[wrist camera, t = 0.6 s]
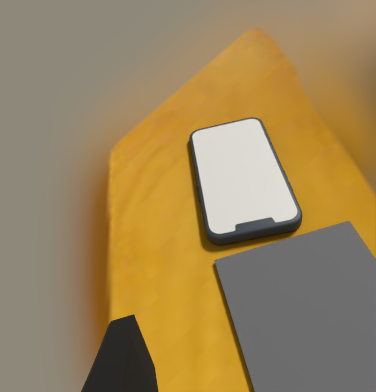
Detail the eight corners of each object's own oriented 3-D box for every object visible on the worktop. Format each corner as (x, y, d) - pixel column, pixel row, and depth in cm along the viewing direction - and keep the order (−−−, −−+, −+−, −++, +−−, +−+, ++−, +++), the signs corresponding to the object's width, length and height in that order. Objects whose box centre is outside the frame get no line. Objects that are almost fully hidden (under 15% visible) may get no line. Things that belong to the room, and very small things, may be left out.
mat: (475, 409, 19) (478, 408, 19) (277, 466, 19) (277, 466, 19) (348, 223, 28) (349, 220, 28) (215, 262, 29) (214, 260, 28)
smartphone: (189, 141, 41) (208, 250, 30) (186, 130, 39) (206, 241, 29) (260, 125, 40) (306, 231, 29) (260, 113, 39) (308, 220, 28)
